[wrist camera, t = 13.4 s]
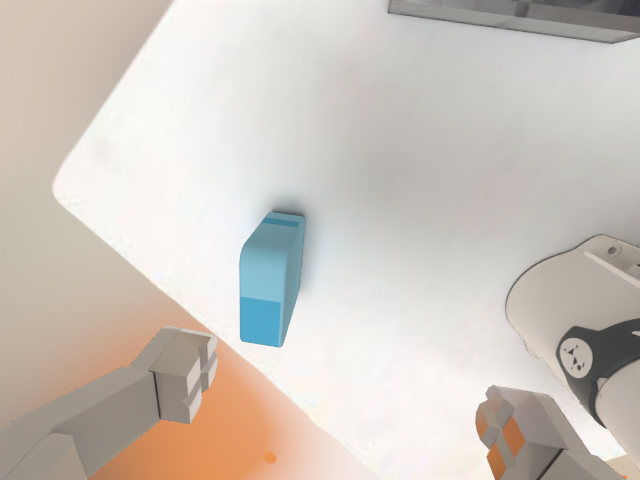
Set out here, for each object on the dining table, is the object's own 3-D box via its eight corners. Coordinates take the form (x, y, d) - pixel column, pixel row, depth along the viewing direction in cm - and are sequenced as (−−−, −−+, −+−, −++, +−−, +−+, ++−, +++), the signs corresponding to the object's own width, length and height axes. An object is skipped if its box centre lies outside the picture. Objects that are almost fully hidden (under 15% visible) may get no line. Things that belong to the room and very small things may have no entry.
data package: (271, 208, 38) (238, 249, 28) (306, 212, 38) (287, 256, 27) (268, 286, 43) (239, 348, 33) (299, 291, 43) (280, 354, 32)
